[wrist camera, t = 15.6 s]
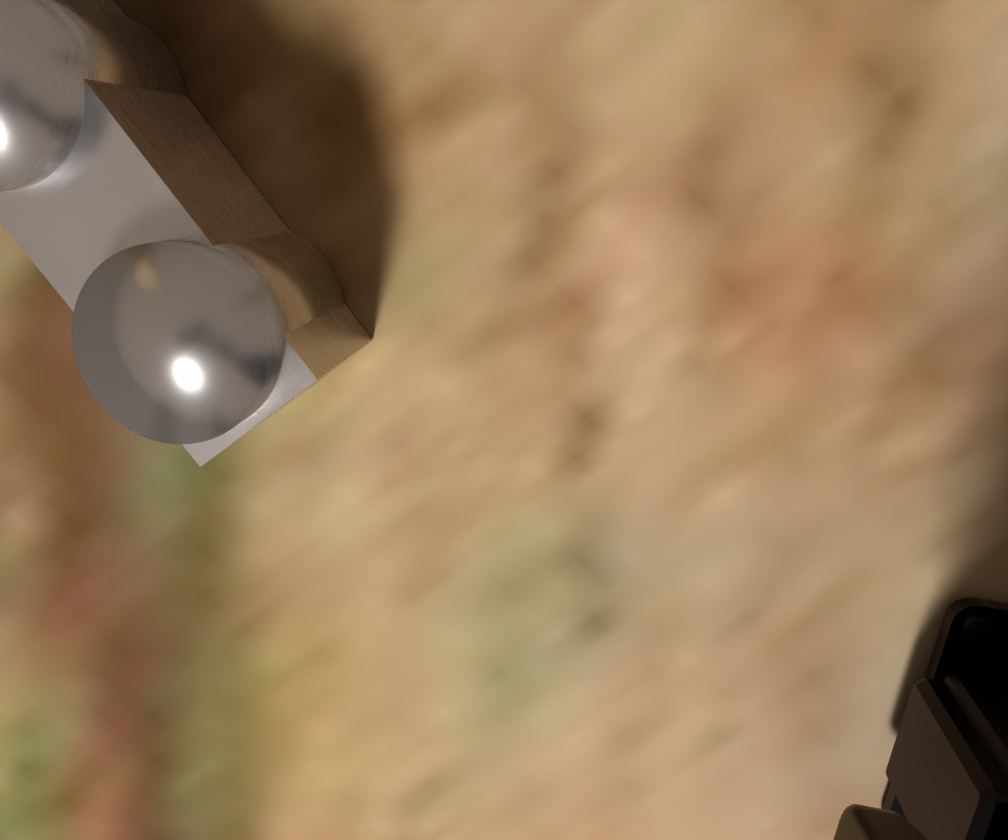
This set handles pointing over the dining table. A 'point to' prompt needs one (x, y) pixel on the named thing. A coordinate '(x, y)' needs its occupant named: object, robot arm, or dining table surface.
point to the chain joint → (155, 233)
